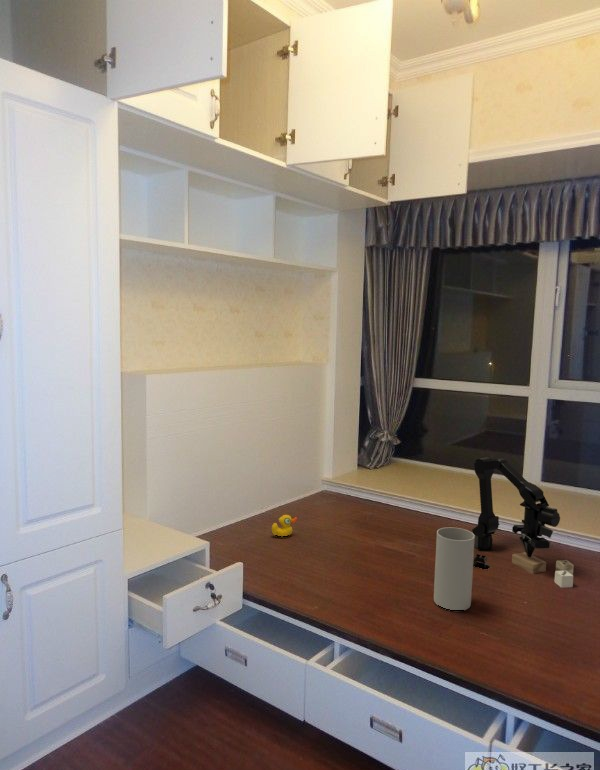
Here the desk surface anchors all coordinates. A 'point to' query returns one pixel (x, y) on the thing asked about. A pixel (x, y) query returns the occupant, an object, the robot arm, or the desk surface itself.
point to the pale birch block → (564, 566)
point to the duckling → (283, 526)
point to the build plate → (480, 559)
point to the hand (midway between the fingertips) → (529, 556)
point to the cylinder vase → (454, 568)
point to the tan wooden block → (529, 562)
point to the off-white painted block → (563, 579)
